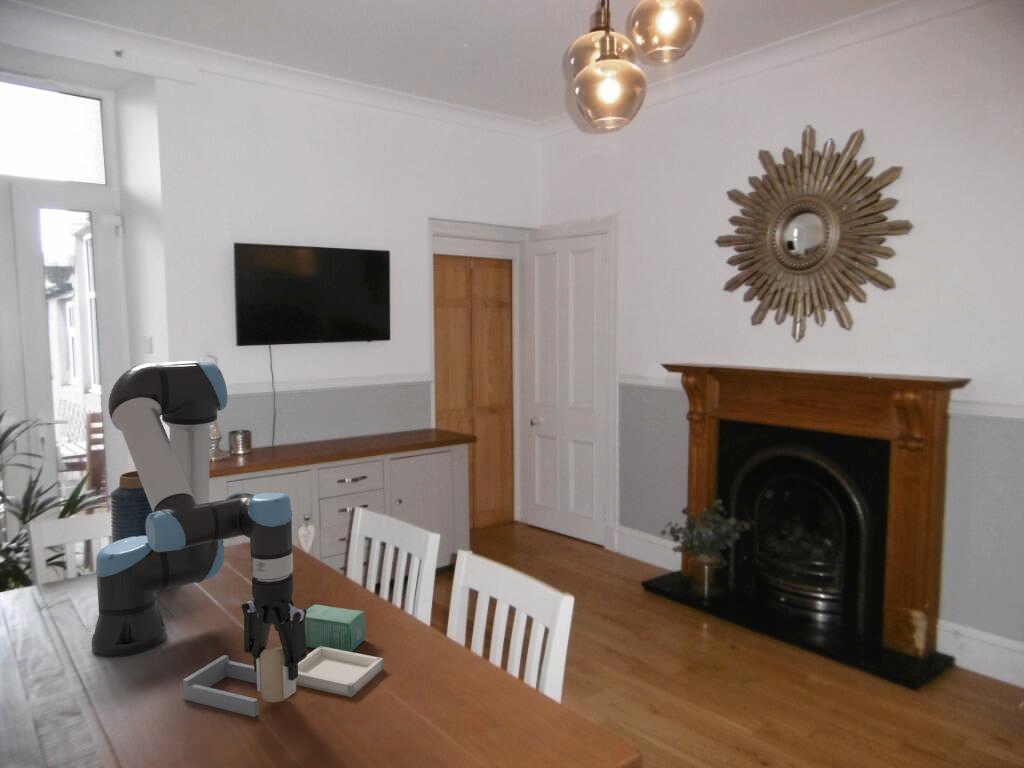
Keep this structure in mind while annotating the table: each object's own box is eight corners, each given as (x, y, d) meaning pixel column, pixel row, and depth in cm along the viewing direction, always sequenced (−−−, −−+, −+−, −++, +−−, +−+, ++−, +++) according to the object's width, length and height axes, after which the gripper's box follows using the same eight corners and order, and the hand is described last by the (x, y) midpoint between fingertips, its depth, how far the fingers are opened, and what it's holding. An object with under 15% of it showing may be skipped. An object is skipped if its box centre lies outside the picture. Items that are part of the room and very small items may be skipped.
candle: (265, 688, 142) (264, 639, 141) (294, 687, 143) (292, 638, 142) (258, 703, 137) (256, 652, 136) (288, 702, 137) (286, 651, 136)
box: (351, 654, 160) (350, 622, 159) (297, 647, 164) (296, 615, 163) (366, 640, 167) (366, 609, 166) (314, 633, 171) (314, 603, 170)
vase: (160, 597, 192) (154, 480, 188) (99, 597, 192) (92, 480, 189) (188, 575, 208) (183, 467, 205) (132, 574, 208) (126, 467, 205)
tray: (284, 682, 148) (284, 671, 148) (320, 656, 159) (320, 645, 159) (351, 697, 142) (351, 685, 142) (383, 669, 153) (383, 658, 153)
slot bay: (183, 699, 141) (182, 679, 141) (224, 673, 152) (223, 654, 151) (254, 717, 135) (253, 696, 135) (292, 688, 145) (291, 669, 145)
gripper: (219, 575, 137) (224, 691, 139) (300, 588, 131) (304, 710, 133) (247, 562, 144) (251, 673, 146) (325, 574, 137) (328, 690, 140)
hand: (276, 691), depth 140 cm, fingers closed on candle, 5 cm apart
